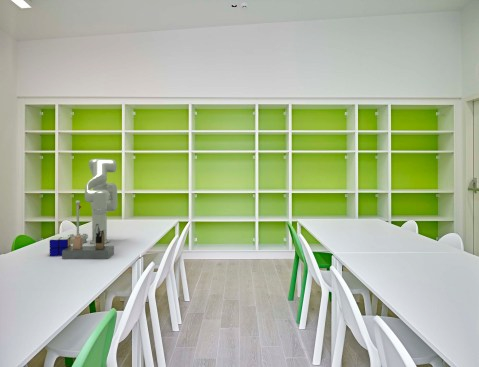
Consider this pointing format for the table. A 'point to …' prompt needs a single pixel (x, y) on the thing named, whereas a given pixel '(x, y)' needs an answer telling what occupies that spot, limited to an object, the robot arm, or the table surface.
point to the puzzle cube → (59, 245)
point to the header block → (88, 252)
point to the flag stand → (78, 227)
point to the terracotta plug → (77, 242)
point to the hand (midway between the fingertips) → (100, 241)
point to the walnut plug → (102, 245)
